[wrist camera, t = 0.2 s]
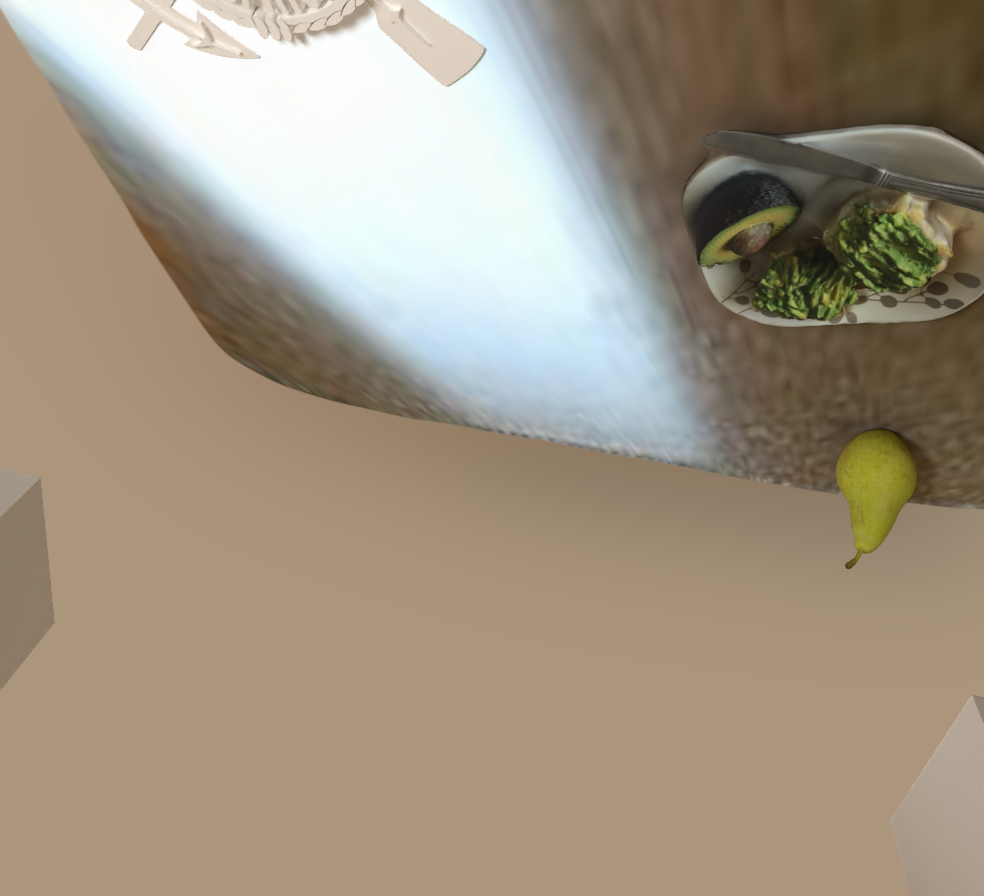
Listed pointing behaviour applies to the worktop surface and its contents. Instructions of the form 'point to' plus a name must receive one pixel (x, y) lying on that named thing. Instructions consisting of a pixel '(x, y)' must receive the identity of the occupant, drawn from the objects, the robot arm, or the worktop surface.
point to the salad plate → (839, 224)
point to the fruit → (875, 485)
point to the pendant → (318, 28)
